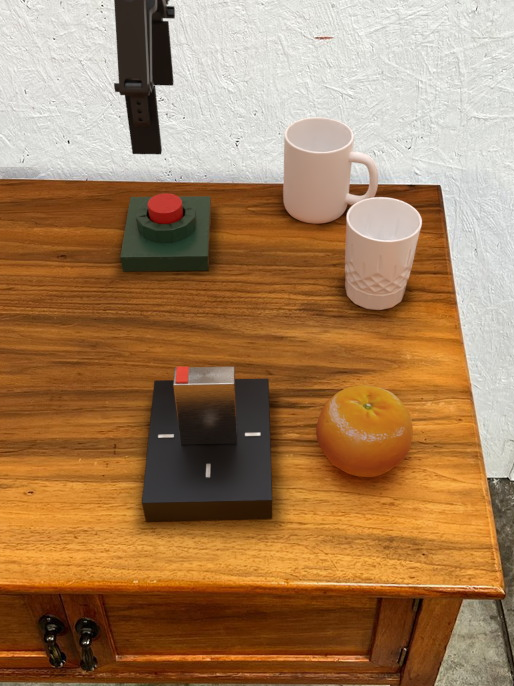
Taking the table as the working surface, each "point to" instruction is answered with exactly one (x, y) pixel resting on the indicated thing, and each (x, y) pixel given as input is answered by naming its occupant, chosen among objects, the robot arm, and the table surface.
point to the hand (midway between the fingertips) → (154, 116)
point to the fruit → (364, 430)
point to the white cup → (380, 251)
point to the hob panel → (209, 463)
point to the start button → (165, 208)
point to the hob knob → (206, 404)
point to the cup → (321, 169)
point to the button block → (167, 238)
